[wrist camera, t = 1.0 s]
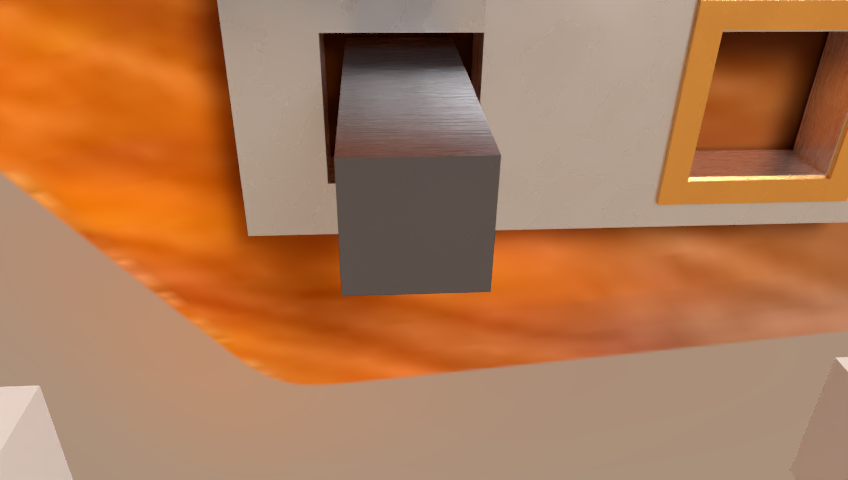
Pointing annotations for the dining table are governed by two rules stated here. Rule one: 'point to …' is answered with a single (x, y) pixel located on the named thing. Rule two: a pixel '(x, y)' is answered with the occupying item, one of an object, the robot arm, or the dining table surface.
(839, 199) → the grey peg hole board
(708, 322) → the dining table surface
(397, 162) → the steel peg
